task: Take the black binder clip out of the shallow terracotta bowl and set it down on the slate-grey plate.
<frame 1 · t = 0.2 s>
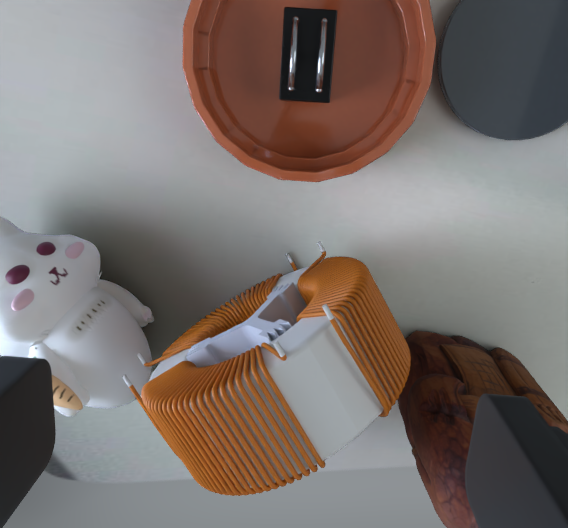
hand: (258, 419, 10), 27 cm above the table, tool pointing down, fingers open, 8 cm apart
plate: (519, 56, 33), on the table
clip: (307, 59, 33), resting on bowl
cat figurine: (83, 296, 39), on the table
coil: (275, 311, 39), on the table
bowl: (307, 60, 34), on the table
wooden figurine: (462, 376, 40), on the table
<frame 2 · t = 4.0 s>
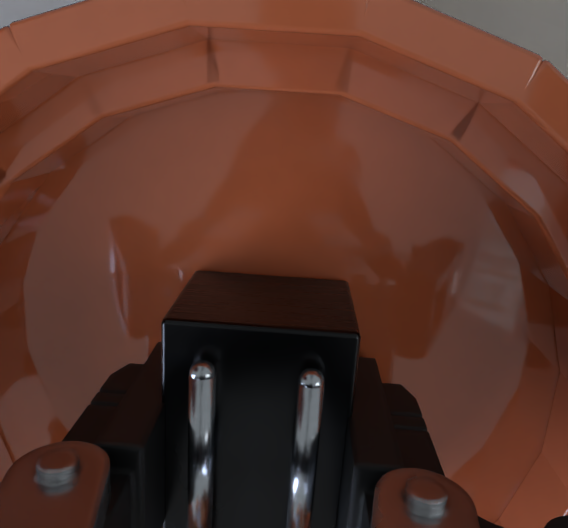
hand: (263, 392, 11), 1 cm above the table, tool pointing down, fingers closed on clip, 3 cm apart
clip: (265, 389, 11), point 1 cm above the table, touching bowl, gripper
bowl: (266, 377, 12), on the table
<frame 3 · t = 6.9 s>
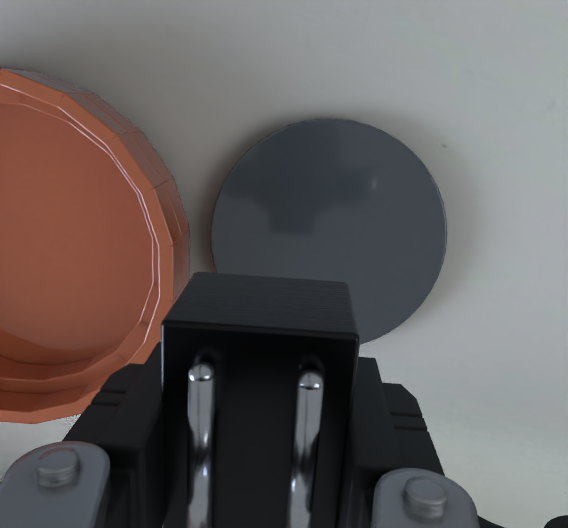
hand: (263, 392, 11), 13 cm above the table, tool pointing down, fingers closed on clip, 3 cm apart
plate: (326, 237, 24), on the table
clip: (264, 390, 11), point 13 cm above the table, touching gripper
bowl: (34, 239, 24), on the table
when the fingers open (1 cm above the table, at t = 10.0 s): clip stays where it is, resting on plate.
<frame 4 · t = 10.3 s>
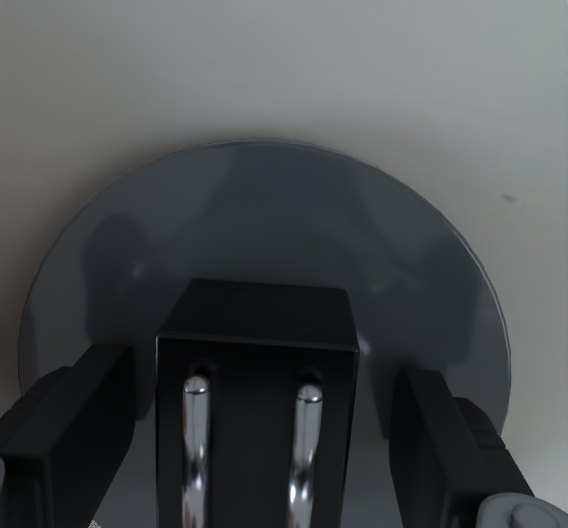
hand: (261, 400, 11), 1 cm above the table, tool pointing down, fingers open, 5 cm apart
plate: (263, 375, 12), on the table
clip: (262, 399, 11), point 1 cm above the table, touching plate
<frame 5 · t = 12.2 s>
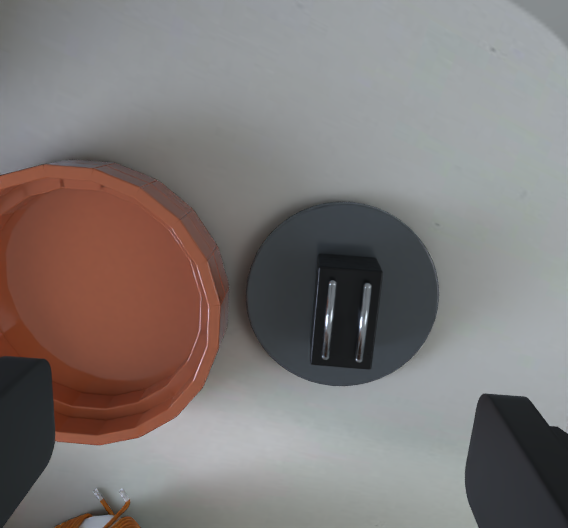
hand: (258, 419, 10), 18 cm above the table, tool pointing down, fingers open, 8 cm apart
plate: (340, 294, 29), on the table
clip: (342, 301, 28), point 1 cm above the table, touching plate
bowl: (100, 292, 29), on the table
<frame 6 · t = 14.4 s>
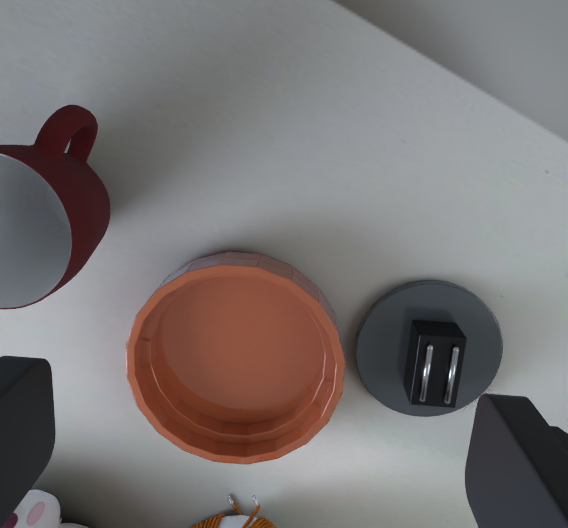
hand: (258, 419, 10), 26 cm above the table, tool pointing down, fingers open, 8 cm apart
plate: (426, 347, 38), on the table
clip: (429, 354, 37), point 1 cm above the table, touching plate
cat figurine: (47, 524, 44), on the table
mug: (81, 181, 36), on the table
bowl: (240, 347, 38), on the table
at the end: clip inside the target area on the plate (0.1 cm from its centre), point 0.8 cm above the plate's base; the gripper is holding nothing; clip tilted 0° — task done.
